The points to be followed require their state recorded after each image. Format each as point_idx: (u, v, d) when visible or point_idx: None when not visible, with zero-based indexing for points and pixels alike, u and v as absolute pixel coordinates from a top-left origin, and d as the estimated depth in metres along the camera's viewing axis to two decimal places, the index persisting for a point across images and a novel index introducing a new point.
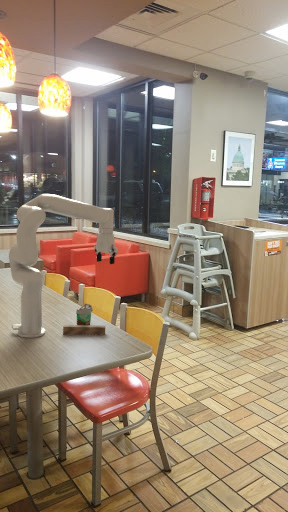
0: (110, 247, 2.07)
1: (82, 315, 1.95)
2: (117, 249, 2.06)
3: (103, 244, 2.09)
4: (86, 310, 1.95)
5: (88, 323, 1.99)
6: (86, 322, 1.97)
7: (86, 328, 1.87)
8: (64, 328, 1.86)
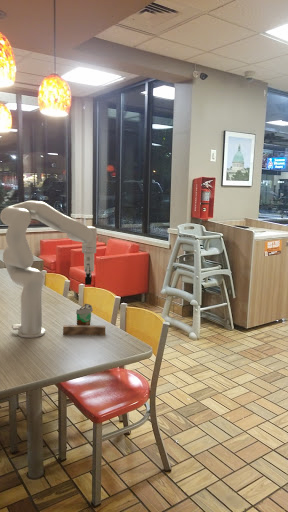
0: None
1: (82, 315, 1.95)
2: None
3: None
4: (86, 310, 1.95)
5: (88, 323, 1.99)
6: (86, 322, 1.97)
7: (86, 328, 1.87)
8: (64, 328, 1.86)
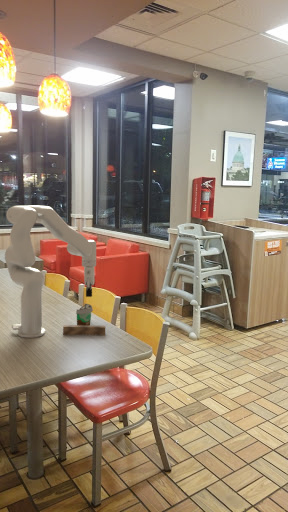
0: None
1: (82, 315, 1.95)
2: None
3: None
4: (86, 310, 1.95)
5: (88, 323, 1.99)
6: (86, 322, 1.97)
7: (86, 328, 1.87)
8: (64, 328, 1.86)
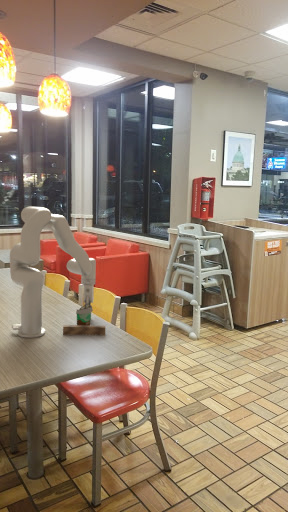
0: None
1: (82, 315, 1.95)
2: None
3: (93, 293, 2.12)
4: (86, 310, 1.95)
5: (88, 323, 1.99)
6: (86, 322, 1.97)
7: (86, 328, 1.87)
8: (64, 328, 1.86)
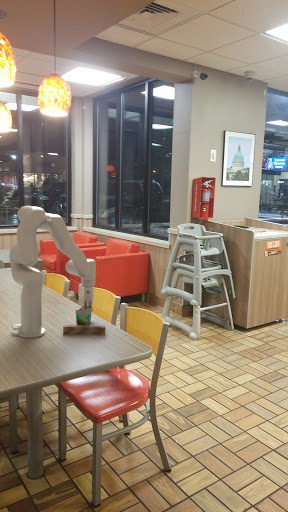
0: None
1: (81, 315, 1.94)
2: None
3: (93, 294, 2.08)
4: (85, 311, 1.94)
5: (88, 323, 1.98)
6: (86, 322, 1.96)
7: (86, 328, 1.87)
8: (64, 328, 1.86)
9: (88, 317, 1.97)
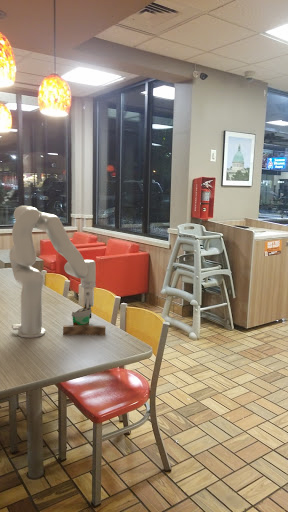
0: None
1: (78, 318, 1.91)
2: None
3: None
4: (82, 313, 1.90)
5: None
6: None
7: (86, 328, 1.87)
8: (64, 328, 1.86)
9: (85, 320, 1.93)
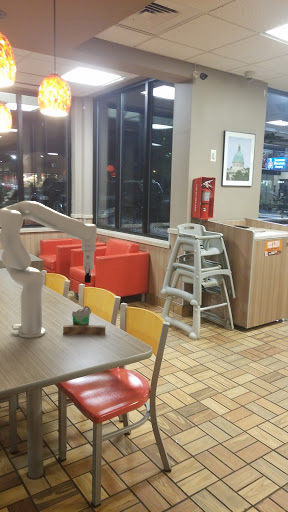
0: None
1: (78, 317, 1.91)
2: None
3: None
4: (82, 313, 1.91)
5: None
6: None
7: (86, 328, 1.87)
8: (64, 328, 1.86)
9: (85, 319, 1.93)
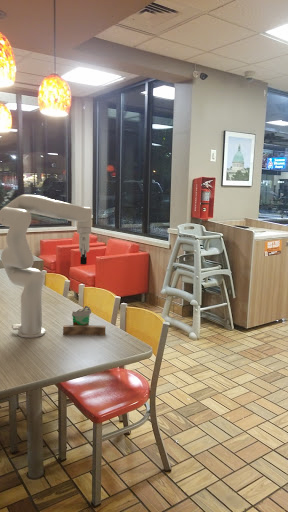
0: None
1: (78, 317, 1.91)
2: None
3: None
4: (82, 313, 1.91)
5: None
6: None
7: (86, 328, 1.87)
8: (64, 328, 1.86)
9: (85, 319, 1.93)
